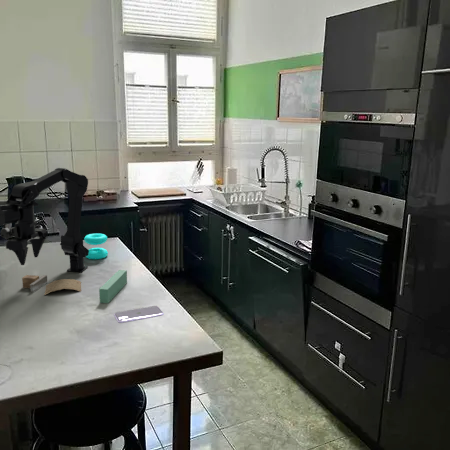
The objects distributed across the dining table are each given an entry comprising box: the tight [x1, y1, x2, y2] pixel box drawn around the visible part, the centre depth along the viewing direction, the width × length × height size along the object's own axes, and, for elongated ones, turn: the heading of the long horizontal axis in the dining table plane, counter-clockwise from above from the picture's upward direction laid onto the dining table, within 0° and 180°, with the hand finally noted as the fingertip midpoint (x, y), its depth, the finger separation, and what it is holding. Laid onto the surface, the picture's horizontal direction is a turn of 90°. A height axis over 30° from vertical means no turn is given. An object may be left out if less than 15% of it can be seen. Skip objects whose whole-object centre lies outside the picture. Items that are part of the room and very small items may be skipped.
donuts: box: [83, 232, 109, 260], centre depth 205 cm, size 10×10×10 cm
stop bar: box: [98, 269, 128, 304], centre depth 166 cm, size 20×3×5 cm, turn 173°
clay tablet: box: [44, 278, 82, 296], centre depth 168 cm, size 14×10×3 cm
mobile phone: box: [113, 305, 165, 323], centre depth 149 cm, size 8×1×15 cm
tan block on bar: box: [21, 274, 49, 293], centre depth 169 cm, size 6×10×4 cm, turn 173°
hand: (29, 260), depth 168 cm, fingers open, 9 cm apart
